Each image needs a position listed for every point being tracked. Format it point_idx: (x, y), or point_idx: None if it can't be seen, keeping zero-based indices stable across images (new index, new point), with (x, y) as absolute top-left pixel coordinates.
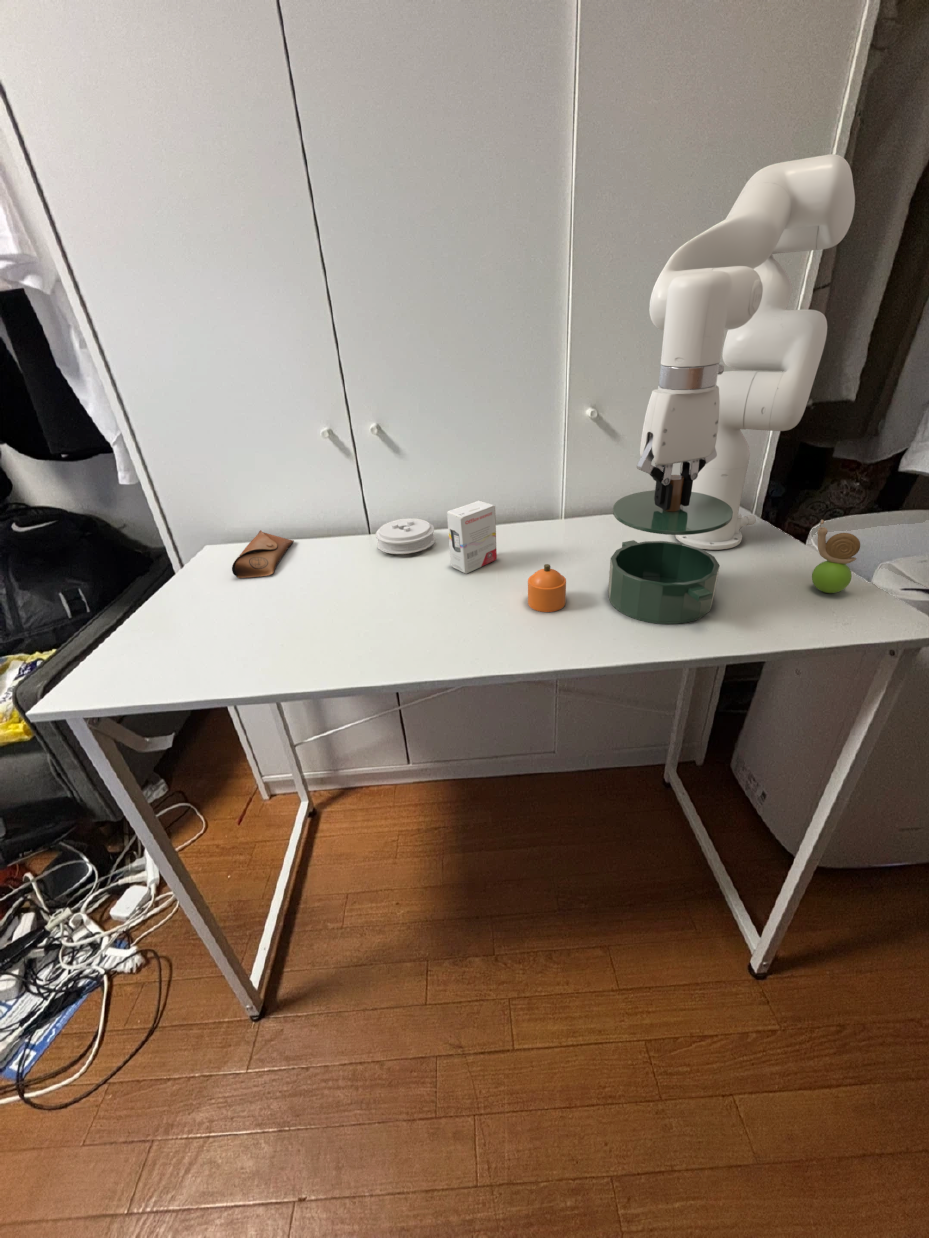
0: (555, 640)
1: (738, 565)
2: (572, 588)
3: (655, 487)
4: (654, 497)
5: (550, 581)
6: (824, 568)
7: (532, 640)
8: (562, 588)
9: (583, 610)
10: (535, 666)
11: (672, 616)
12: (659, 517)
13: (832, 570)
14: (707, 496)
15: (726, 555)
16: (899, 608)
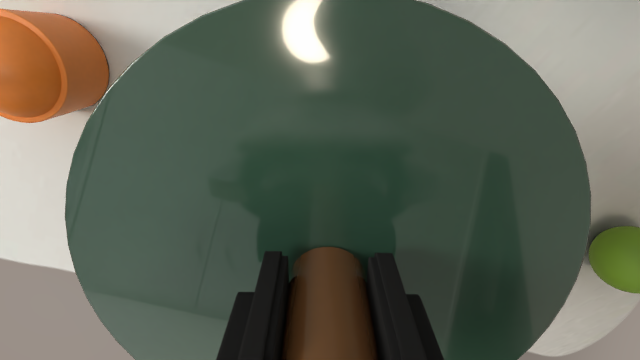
0: (60, 204)
1: (587, 84)
2: (145, 17)
3: (220, 348)
4: (235, 300)
5: (4, 109)
6: (626, 273)
7: (15, 189)
8: (57, 115)
9: None
10: (15, 254)
11: None
12: None
13: (626, 285)
14: (571, 233)
15: (622, 17)
16: (625, 311)
